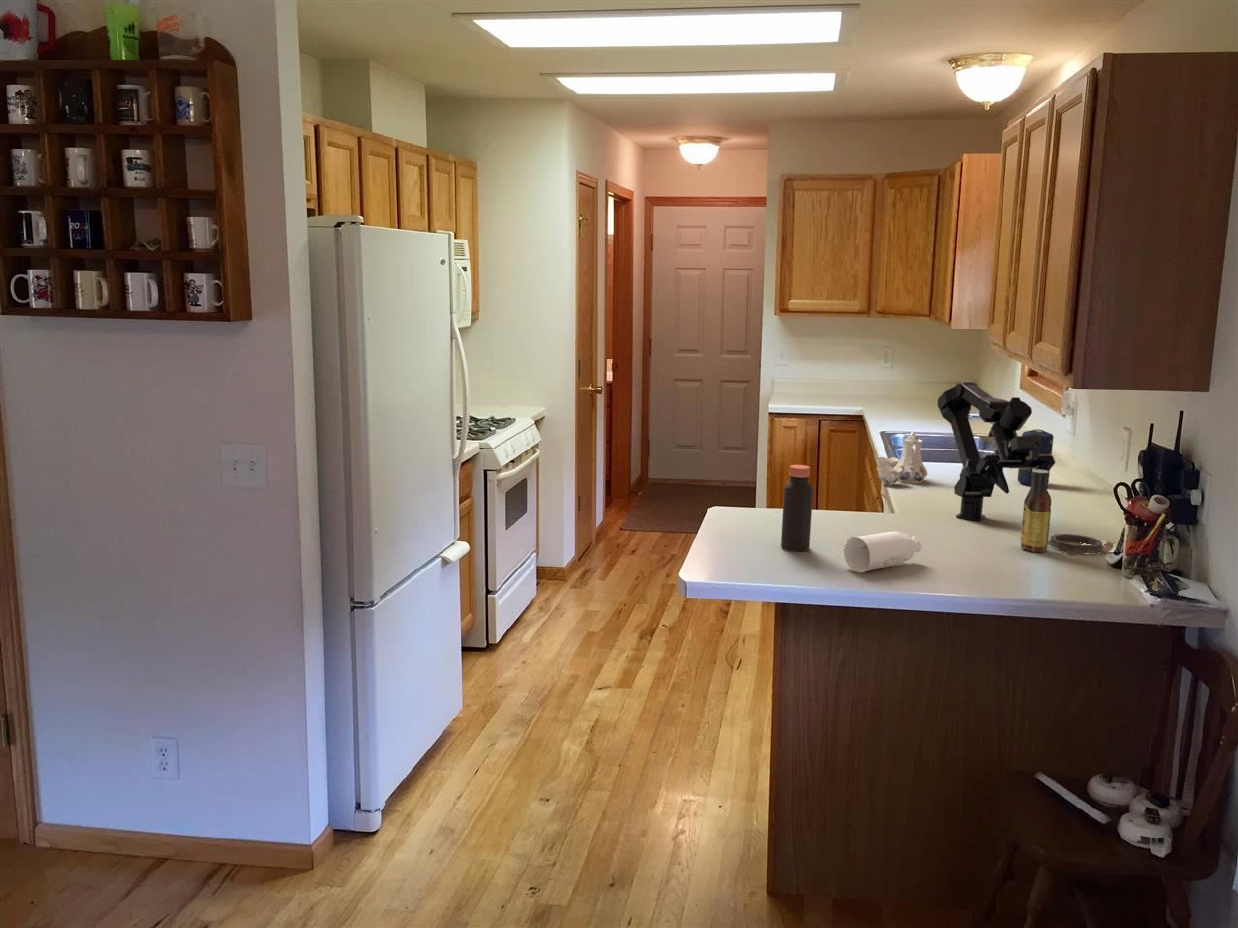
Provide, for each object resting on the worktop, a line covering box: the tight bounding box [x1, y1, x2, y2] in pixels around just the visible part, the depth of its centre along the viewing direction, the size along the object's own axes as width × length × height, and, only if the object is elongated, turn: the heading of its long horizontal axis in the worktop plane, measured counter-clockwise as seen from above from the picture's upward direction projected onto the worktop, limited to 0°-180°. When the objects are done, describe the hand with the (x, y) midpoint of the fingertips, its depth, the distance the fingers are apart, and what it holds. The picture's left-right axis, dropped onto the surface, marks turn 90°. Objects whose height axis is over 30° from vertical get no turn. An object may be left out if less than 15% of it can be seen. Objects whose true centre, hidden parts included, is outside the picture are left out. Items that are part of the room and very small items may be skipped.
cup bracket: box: [1047, 533, 1114, 555], centre depth 260 cm, size 18×12×2 cm, turn 105°
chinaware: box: [875, 431, 928, 487], centre depth 337 cm, size 28×17×17 cm, turn 172°
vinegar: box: [780, 464, 814, 552], centre depth 250 cm, size 7×7×20 cm
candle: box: [1017, 428, 1054, 486], centre depth 335 cm, size 10×10×18 cm
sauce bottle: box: [1020, 469, 1052, 553], centre depth 254 cm, size 6×6×20 cm
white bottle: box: [843, 531, 922, 573], centre depth 238 cm, size 8×19×8 cm, turn 121°
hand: (1025, 492), depth 260 cm, fingers open, 9 cm apart
